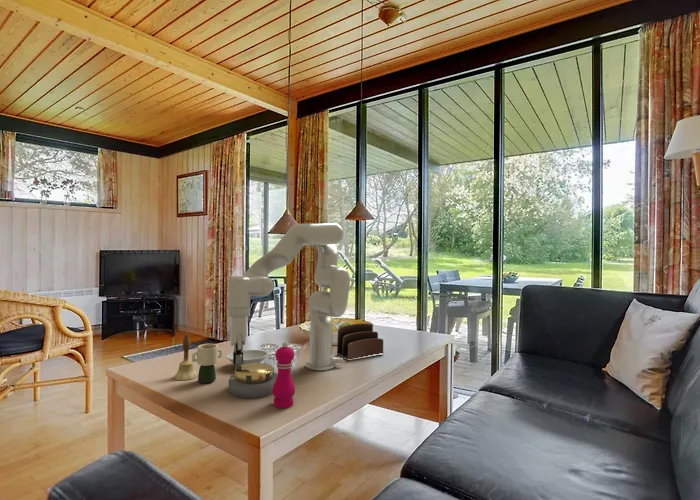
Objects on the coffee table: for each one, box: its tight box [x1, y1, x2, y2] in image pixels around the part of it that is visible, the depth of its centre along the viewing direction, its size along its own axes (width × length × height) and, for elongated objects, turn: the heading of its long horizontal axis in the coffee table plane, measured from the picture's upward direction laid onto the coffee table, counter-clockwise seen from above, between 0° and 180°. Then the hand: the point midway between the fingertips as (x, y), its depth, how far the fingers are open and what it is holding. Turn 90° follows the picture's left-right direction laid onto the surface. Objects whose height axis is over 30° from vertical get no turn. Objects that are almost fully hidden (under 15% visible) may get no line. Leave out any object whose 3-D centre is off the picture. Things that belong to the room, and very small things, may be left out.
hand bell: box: [173, 333, 198, 381], centre depth 147 cm, size 8×8×16 cm
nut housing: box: [228, 372, 278, 400], centre depth 137 cm, size 17×17×4 cm
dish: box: [225, 349, 270, 366], centre depth 161 cm, size 18×14×5 cm
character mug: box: [191, 343, 223, 383], centre depth 143 cm, size 11×7×13 cm, turn 128°
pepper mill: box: [272, 341, 296, 409], centre depth 125 cm, size 7×7×20 cm
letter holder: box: [336, 323, 384, 359], centre depth 182 cm, size 10×20×14 cm, turn 123°
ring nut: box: [234, 354, 275, 384], centre depth 137 cm, size 13×13×8 cm
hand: (238, 363), depth 138 cm, fingers closed
